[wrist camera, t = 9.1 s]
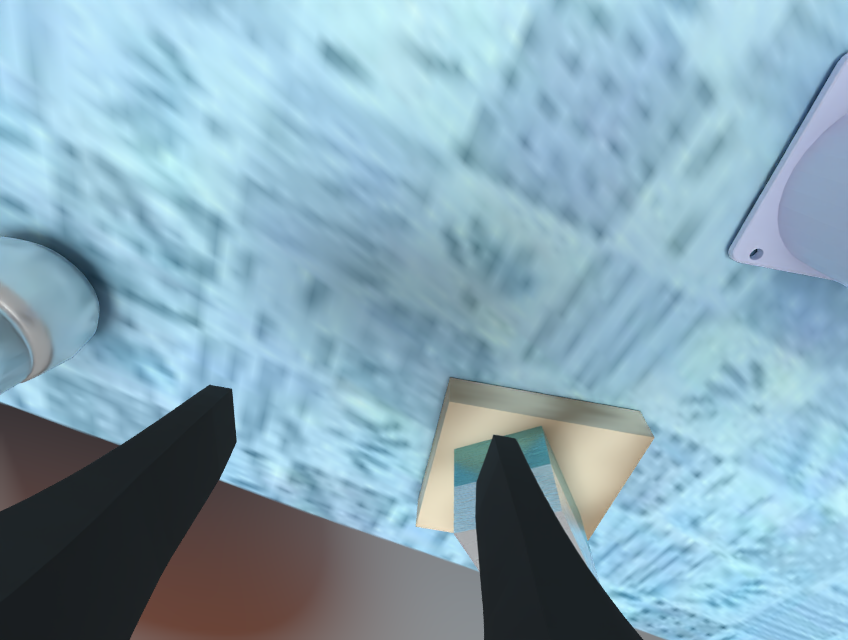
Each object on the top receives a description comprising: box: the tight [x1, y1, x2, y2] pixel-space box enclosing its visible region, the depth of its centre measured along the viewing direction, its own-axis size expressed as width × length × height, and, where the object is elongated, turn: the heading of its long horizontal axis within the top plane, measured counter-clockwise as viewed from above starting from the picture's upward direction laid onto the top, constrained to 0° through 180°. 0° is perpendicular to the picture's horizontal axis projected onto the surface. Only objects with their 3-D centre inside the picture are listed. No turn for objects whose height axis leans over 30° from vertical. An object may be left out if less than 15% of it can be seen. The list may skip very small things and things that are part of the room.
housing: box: [454, 426, 600, 584], centre depth 22 cm, size 8×5×5 cm, turn 25°
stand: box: [416, 378, 654, 540], centre depth 26 cm, size 11×11×2 cm
